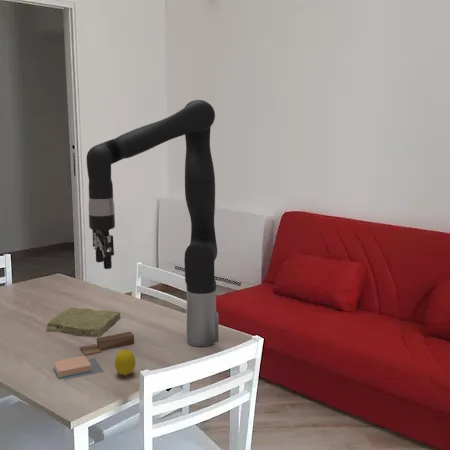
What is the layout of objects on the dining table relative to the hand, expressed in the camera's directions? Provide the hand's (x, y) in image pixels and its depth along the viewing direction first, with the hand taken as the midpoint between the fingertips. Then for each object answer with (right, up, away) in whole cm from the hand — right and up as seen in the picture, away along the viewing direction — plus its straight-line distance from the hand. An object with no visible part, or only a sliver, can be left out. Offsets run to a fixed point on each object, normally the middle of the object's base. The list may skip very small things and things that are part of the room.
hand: (103, 265), depth 176 cm
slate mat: (-4, -29, -11) cm, 31 cm away
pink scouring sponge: (-2, -27, -10) cm, 29 cm away
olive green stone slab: (-12, -23, +23) cm, 34 cm away
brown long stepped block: (+1, -26, +4) cm, 26 cm away
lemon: (+9, -30, -15) cm, 35 cm away
